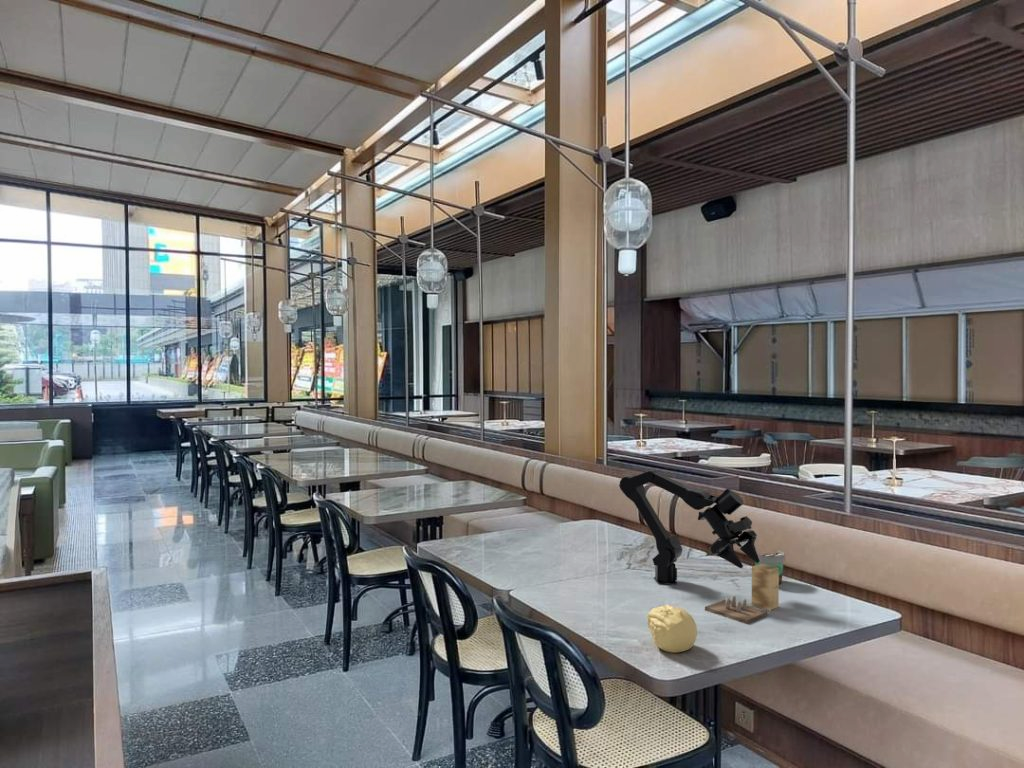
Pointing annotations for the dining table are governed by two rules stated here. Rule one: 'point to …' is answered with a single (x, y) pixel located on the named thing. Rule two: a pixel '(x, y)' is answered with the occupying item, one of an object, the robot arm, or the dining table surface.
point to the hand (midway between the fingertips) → (750, 564)
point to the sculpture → (672, 628)
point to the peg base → (736, 610)
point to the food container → (773, 562)
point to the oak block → (765, 586)
